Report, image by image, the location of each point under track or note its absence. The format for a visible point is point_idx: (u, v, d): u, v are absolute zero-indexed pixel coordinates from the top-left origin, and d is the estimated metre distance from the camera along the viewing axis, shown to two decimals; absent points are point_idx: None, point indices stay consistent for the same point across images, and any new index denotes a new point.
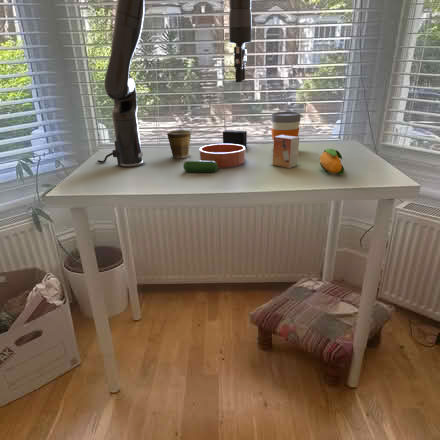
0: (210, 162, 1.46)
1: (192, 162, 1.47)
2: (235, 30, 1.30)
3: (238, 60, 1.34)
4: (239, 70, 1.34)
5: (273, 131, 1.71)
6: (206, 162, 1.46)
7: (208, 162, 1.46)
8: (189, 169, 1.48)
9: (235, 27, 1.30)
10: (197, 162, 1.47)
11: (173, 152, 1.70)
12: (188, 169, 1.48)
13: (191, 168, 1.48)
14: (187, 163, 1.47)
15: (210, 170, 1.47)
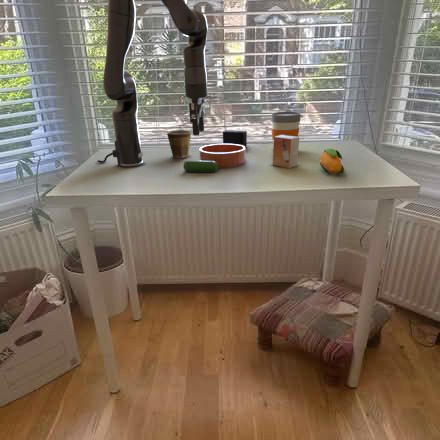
0: (210, 162, 1.46)
1: (192, 162, 1.47)
2: (190, 87, 1.32)
3: (194, 115, 1.36)
4: (195, 124, 1.36)
5: (273, 131, 1.71)
6: (206, 162, 1.46)
7: (208, 162, 1.46)
8: (189, 169, 1.48)
9: (190, 84, 1.32)
10: (197, 162, 1.47)
11: (173, 152, 1.70)
12: (188, 169, 1.48)
13: (191, 168, 1.48)
14: (187, 163, 1.47)
15: (210, 170, 1.47)
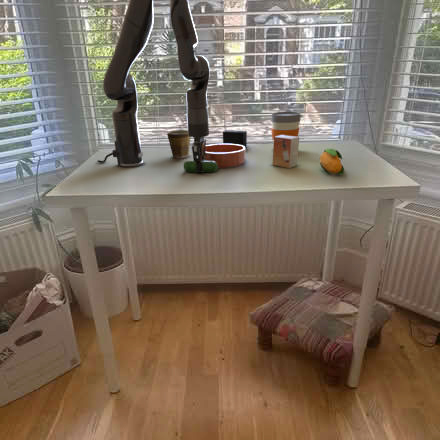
0: (210, 162, 1.46)
1: (192, 162, 1.47)
2: (192, 127, 1.38)
3: None
4: (199, 163, 1.45)
5: (273, 131, 1.71)
6: (206, 162, 1.46)
7: (208, 162, 1.46)
8: (189, 169, 1.48)
9: (192, 124, 1.38)
10: None
11: (173, 152, 1.70)
12: (188, 169, 1.48)
13: (191, 168, 1.48)
14: (187, 163, 1.47)
15: (210, 170, 1.47)
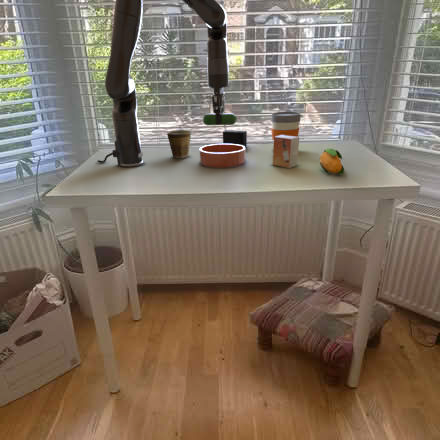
0: (229, 114, 1.49)
1: (212, 115, 1.50)
2: (213, 77, 1.41)
3: None
4: (218, 115, 1.47)
5: (273, 131, 1.71)
6: (225, 114, 1.49)
7: (227, 114, 1.49)
8: (208, 122, 1.51)
9: (213, 74, 1.41)
10: None
11: (173, 152, 1.70)
12: (207, 122, 1.51)
13: (210, 121, 1.50)
14: (207, 116, 1.50)
15: (229, 122, 1.50)
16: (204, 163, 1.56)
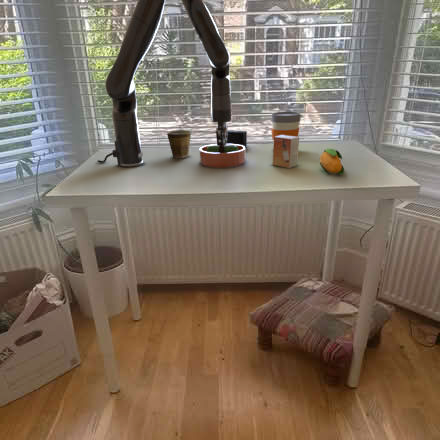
0: (232, 146, 1.57)
1: (215, 146, 1.57)
2: (216, 112, 1.49)
3: None
4: (221, 147, 1.55)
5: (273, 131, 1.71)
6: (228, 146, 1.57)
7: (230, 146, 1.57)
8: None
9: (216, 110, 1.48)
10: None
11: (173, 152, 1.70)
12: None
13: (214, 152, 1.58)
14: (210, 147, 1.58)
15: None
16: (204, 163, 1.56)
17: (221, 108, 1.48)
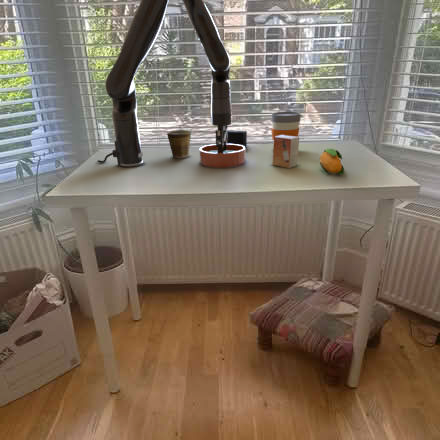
0: None
1: (216, 152, 1.59)
2: (216, 116, 1.49)
3: (219, 140, 1.53)
4: (220, 149, 1.54)
5: (273, 131, 1.71)
6: (228, 152, 1.58)
7: None
8: None
9: (216, 114, 1.49)
10: None
11: (173, 152, 1.70)
12: None
13: None
14: None
15: None
16: (204, 163, 1.56)
17: (221, 112, 1.48)
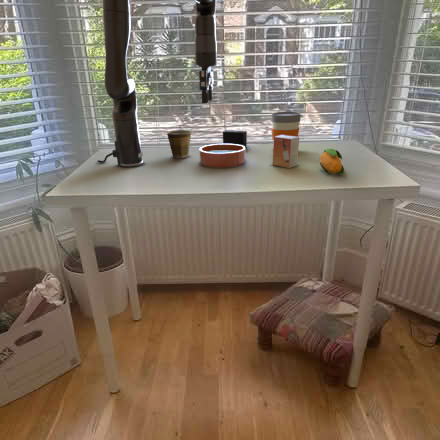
0: None
1: (216, 152, 1.59)
2: (200, 55, 1.37)
3: (204, 83, 1.41)
4: (205, 92, 1.41)
5: (273, 131, 1.71)
6: (228, 152, 1.58)
7: None
8: None
9: (200, 52, 1.36)
10: (220, 152, 1.58)
11: (173, 152, 1.70)
12: None
13: None
14: None
15: None
16: (204, 163, 1.56)
17: (205, 50, 1.36)
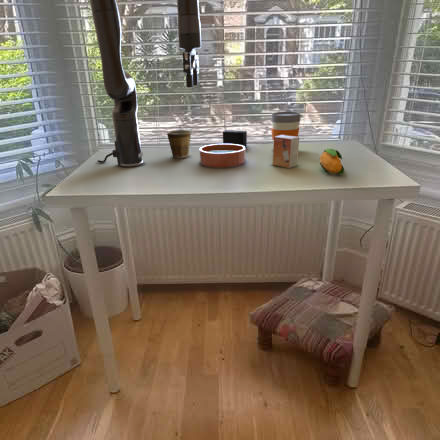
0: None
1: (216, 152, 1.59)
2: (183, 36, 1.32)
3: (188, 66, 1.36)
4: (189, 75, 1.36)
5: (273, 131, 1.71)
6: (228, 152, 1.58)
7: None
8: None
9: (183, 33, 1.31)
10: (220, 152, 1.58)
11: (173, 152, 1.70)
12: None
13: None
14: None
15: None
16: (204, 163, 1.56)
17: (188, 30, 1.31)
